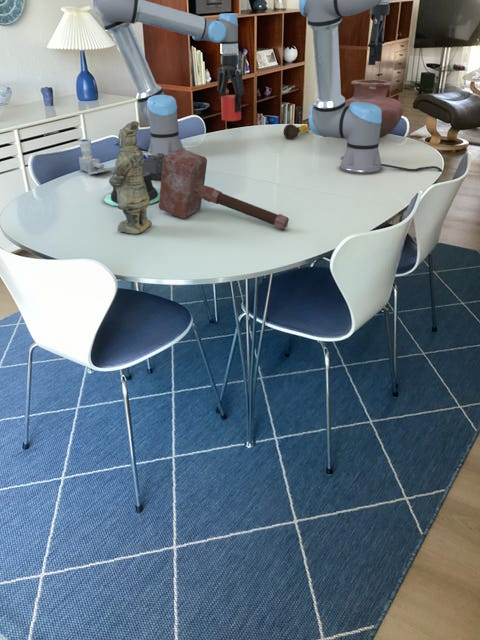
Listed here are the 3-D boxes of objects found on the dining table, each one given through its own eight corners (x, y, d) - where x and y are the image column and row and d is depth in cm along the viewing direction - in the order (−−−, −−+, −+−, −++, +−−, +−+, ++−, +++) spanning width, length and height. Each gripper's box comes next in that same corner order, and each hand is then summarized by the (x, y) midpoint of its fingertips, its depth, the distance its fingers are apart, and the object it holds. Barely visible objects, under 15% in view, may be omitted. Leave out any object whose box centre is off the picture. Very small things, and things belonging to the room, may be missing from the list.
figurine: (325, 121, 268) (300, 123, 249) (324, 137, 271) (299, 140, 252) (301, 118, 274) (275, 120, 255) (300, 134, 277) (274, 137, 258)
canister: (227, 116, 255) (226, 94, 250) (244, 117, 252) (243, 95, 247) (218, 120, 248) (217, 97, 244) (236, 121, 245) (235, 98, 240)
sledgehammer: (299, 190, 156) (179, 147, 167) (285, 200, 148) (161, 154, 160) (286, 244, 166) (174, 200, 177) (272, 256, 158) (156, 209, 170)
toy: (139, 150, 209) (172, 153, 203) (141, 172, 213) (174, 177, 207) (125, 155, 202) (159, 159, 196) (128, 178, 206) (161, 183, 200)
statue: (131, 220, 168) (117, 116, 152) (158, 224, 164) (147, 118, 149) (109, 233, 159) (93, 124, 144) (138, 237, 156) (124, 126, 140)
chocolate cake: (91, 202, 180) (113, 186, 197) (142, 231, 182) (160, 212, 199) (107, 162, 172) (129, 148, 190) (160, 192, 174) (177, 176, 192)
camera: (89, 136, 215) (112, 142, 207) (93, 167, 222) (116, 174, 213) (70, 140, 210) (93, 147, 201) (75, 171, 216) (97, 179, 207)
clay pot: (397, 133, 263) (404, 75, 251) (402, 148, 238) (410, 85, 225) (333, 131, 268) (336, 75, 256) (330, 146, 243) (334, 85, 230)
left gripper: (252, 55, 232) (253, 112, 243) (220, 52, 246) (222, 106, 257) (239, 56, 227) (240, 114, 239) (207, 53, 242) (209, 108, 253)
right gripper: (376, 3, 229) (370, 59, 240) (364, 4, 209) (359, 66, 220) (394, 3, 226) (388, 60, 237) (384, 4, 207) (378, 66, 217)
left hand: (231, 110), depth 248 cm, fingers closed on canister, 9 cm apart
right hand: (374, 63), depth 229 cm, fingers open, 13 cm apart
